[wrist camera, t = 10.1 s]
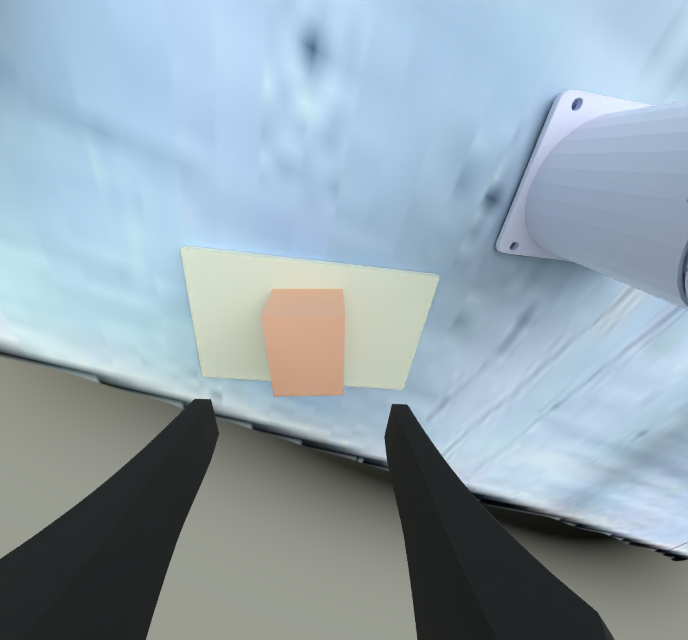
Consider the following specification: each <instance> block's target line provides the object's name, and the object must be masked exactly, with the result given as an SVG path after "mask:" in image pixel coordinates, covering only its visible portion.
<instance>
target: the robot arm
mask: <svg viewBox="0 0 688 640" xmlns="http://www.w3.org/2000/svg"><path fill="white" fill-rule="evenodd" d="M574 100H576V102H577V104H576V107H575V109H574V110H572V107H571V106H572V103H573V101H574ZM513 242H515V245H514V246H513V247H512V248H510V245H511V244H512V243H513ZM496 249H497V250H498V251H499V252H502V253H507V254H515V255H523V256H531V257H539V258H547V259H555V260H563V261H572V262H575V263H577V264H580V265H582V266H585V267H587V268H589V269H592V270H594V271H596V272H599V273H601V274H603V275H606V276H608V277H611V278H613V279H615V280H618V281H620V282H622V283H625V284H627V285H629V286H632V287H634V288H637V289H639V290H641V291H644V292H646V293H648V294H651V295H653V296H655V297H658V298H660V299H663V300H665V301H667V302H670V303H672V304H674V305H677V306H679V307H681V308H684V309H686V310H688V100H685V101H679V102H673V103H667V104H660V105H649V104H644V103H639V102H634V101H628V100H623V99H618V98H613V97H608V96H603V95H598V94H592V93H587V92H582V91H577V90H567V91H564V92H562V93H560V94H559V95H558V96H557V97H556V99H555V100H554V102H553V105H552V107H551V110H550V112H549V114H548V117H547V119H546V122H545V124H544V127H543V129H542V132H541V134H540V136H539V139H538V141H537V144H536V146H535V149H534V151H533V154H532V156H531V159H530V161H529V163H528V166H527V168H526V171H525V173H524V176H523V178H522V181H521V183H520V186H519V188H518V190H517V193H516V195H515V198H514V200H513V203H512V205H511V208H510V210H509V213H508V215H507V217H506V220H505V222H504V225H503V227H502V230H501V232H500V235H499V237H498V240H497V242H496ZM218 435H219V432H218V427H217V423H216V419H215V414H214V410H213V406H212V402H211V399H194V400H193V401H192V402H191V403H190V404H189V405H188V406H187V407H186V408H185V409H184V410H183V411H182V412H181V413H180V414H179V415H178V416H177V417H176V418H175V419H174V420H173V421H172V422H171V423H170V424H169V425H168V426H167V427H166V428H165V429H164V430H163V431H161V433H159V434H158V435H157V436H156V437H155V438H154V439H153V440H152V441H151V442H150V443H149V444H148V445H147V446H146V447H145V448H144V449H142V450H141V451H140V452H139V453H138V454H137V455H136V456H135V457H133V458H132V459H131V460H130V461H129V462H128V463H127V464H125V465H124V466H123V467H122V468H121V469H120V470H119V471H118V472H116V473H115V474H114V475H113V476H112V477H110V478H109V479H108V480H107V481H106V482H104V483H103V484H102V485H101V486H100V487H98V488H97V489H96V490H95V491H93V492H92V493H91V494H90V495H88V496H87V497H86V498H85V499H83V500H82V501H81V502H79V503H78V504H77V505H76V506H74V507H73V508H72V509H70V510H69V511H68V512H66V513H65V514H64V515H62V516H61V517H60V518H58V519H57V520H55V521H54V522H53V523H52V524H50V525H48V526H47V527H46V528H44V529H43V530H42V531H40V532H39V533H38V534H36V535H35V536H33V537H32V538H31V539H29V540H28V541H26V542H25V543H23V544H22V545H20V546H19V547H17V548H16V549H14V550H13V551H11V552H10V553H9V554H7V555H5V556H4V557H3V558H1V559H0V640H146V637H147V634H148V630H149V627H150V623H151V620H152V617H153V613H154V610H155V607H156V604H157V601H158V597H159V594H160V591H161V588H162V585H163V582H164V579H165V575H166V572H167V569H168V566H169V563H170V560H171V557H172V554H173V552H174V549H175V545H176V542H177V540H178V537H179V534H180V532H181V529H182V527H183V524H184V522H185V519H186V517H187V515H188V513H189V510H190V508H191V506H192V504H193V501H194V499H195V496H196V494H197V492H198V490H199V487H200V485H201V483H202V480H203V478H204V476H205V473H206V471H207V468H208V466H209V464H210V461H211V458H212V455H213V452H214V449H215V446H216V442H217V438H218ZM384 437H385V446H386V454H387V462H388V467H389V471H390V475H391V480H392V484H393V489H394V493H395V498H396V502H397V506H398V511H399V515H400V519H401V524H402V529H403V534H404V540H405V546H406V554H407V561H408V567H409V575H410V582H411V590H412V597H413V605H414V614H415V622H416V630H417V639H418V640H614V638H613V636H612V634H611V633H610V631H609V630H608V628H607V627H606V625H605V623H604V622H603V620H602V619H601V617H600V616H599V614H598V612H597V611H595V610H594V609H593V608H592V607H591V606H589V605H588V604H587V603H586V602H585V601H583V600H582V599H581V598H580V597H579V596H578V595H576V594H575V593H574V592H573V591H572V590H571V589H569V588H568V587H567V586H566V585H565V584H564V583H562V582H561V581H560V580H559V579H558V578H556V577H555V576H554V575H553V574H552V573H551V572H549V570H547V569H546V568H545V567H544V566H543V565H542V564H541V563H540V562H539V561H538V560H537V559H535V558H534V557H533V556H532V555H531V554H530V553H529V552H528V551H527V550H526V549H525V548H524V547H523V546H522V545H521V544H520V543H519V542H518V541H517V540H516V539H515V538H514V537H513V536H511V534H510V533H509V532H508V531H507V530H506V529H505V528H503V526H501V524H500V523H498V521H497V520H496V519H495V518H494V517H493V516H492V515H491V514H490V513H489V512H488V511H487V510H486V509H485V508H484V507H483V505H482V504H481V503H480V502H479V501H478V500H477V499H476V498H475V496H474V495H473V494H472V493H471V492H470V491H469V490H468V488H467V487H466V486H465V485H464V484H463V482H462V481H461V480H460V479H459V477H458V476H457V475H456V474H455V472H454V471H453V470H452V469H451V467H450V466H449V465H448V463H447V462H446V461H445V459H444V458H443V457H442V455H441V454H440V453H439V451H438V450H437V449H436V447H435V446H434V444H433V443H432V442H431V440H430V439H429V437H428V436H427V434H426V433H425V431H424V430H423V428H422V427H421V425H420V424H419V422H418V421H417V419H416V417H415V416H414V414H413V413H412V411H411V410H410V408H409V406H408V405H405V404H392V407H391V411H390V415H389V419H388V424H387V428H386V432H385V436H384Z"/></svg>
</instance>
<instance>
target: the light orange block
mask: <svg viewBox="0 0 688 640" xmlns="http://www.w3.org/2000/svg"><path fill="white" fill-rule="evenodd" d="M261 318H262V325H263V331H264V337H265V344H266V350H267V357H268V363H269V369H270V376H271V382H272V389H273V395H274V396H324V395H343V389H344V345H345V308H344V297H343V289H273V290H272V292H271V294H270V297H269V299H268V301H267V303H266V306H265V308H264V310H263V312H262V315H261Z"/></svg>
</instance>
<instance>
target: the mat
mask: <svg viewBox="0 0 688 640" xmlns="http://www.w3.org/2000/svg"><path fill="white" fill-rule="evenodd" d="M180 250H181V256H182V262H183V268H184V274H185V279H186V285H187V291H188V297H189V303H190V309H191V314H192V320H193V326H194V332H195V338H196V344H197V349H198V355H199V361H200V367H201V373H202V377H217V378H232V379H247V380H262V381H271V376H270V369H269V363H268V357H267V350H266V344H265V337H264V331H263V325H262V318H261V315H262V312H263V310H264V308H265V306H266V303H267V301H268V299H269V297H270V294H271V292H272V290H273V289H343V297H344V308H345V345H344V386H352V387H367V388H382V389H397V390H403V389H404V386H405V383H406V380H407V377H408V374H409V371H410V368H411V365H412V362H413V359H414V356H415V352H416V349H417V346H418V343H419V340H420V337H421V334H422V331H423V328H424V325H425V322H426V319H427V316H428V313H429V309H430V306H431V303H432V300H433V297H434V294H435V291H436V288H437V285H438V282H439V279H440V277H439V276H438V275H437V274H434V273H425V272H416V271H407V270H398V269H389V268H380V267H371V266H363V265H354V264H345V263H336V262H327V261H318V260H309V259H300V258H292V257H283V256H274V255H265V254H256V253H247V252H238V251H230V250H221V249H212V248H203V247H194V246H183V247H181V248H180Z"/></svg>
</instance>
